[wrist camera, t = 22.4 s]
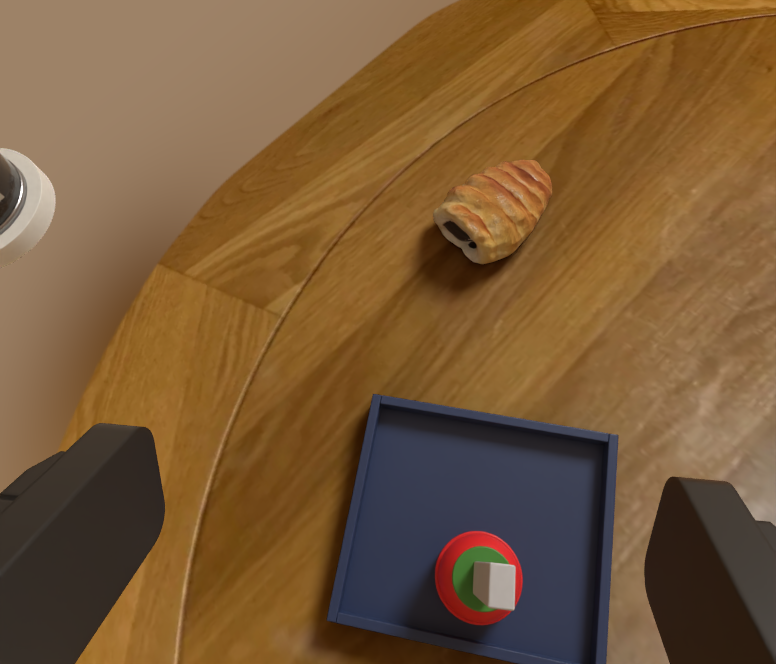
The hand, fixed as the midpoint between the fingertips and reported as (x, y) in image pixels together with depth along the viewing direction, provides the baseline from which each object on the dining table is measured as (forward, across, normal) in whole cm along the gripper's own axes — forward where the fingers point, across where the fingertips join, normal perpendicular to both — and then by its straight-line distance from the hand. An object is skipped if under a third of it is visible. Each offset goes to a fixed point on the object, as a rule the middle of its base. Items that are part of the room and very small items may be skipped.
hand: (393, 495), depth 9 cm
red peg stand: (+20, -3, +22) cm, 30 cm away
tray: (+23, -3, +21) cm, 31 cm away
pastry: (+39, -3, +4) cm, 39 cm away
